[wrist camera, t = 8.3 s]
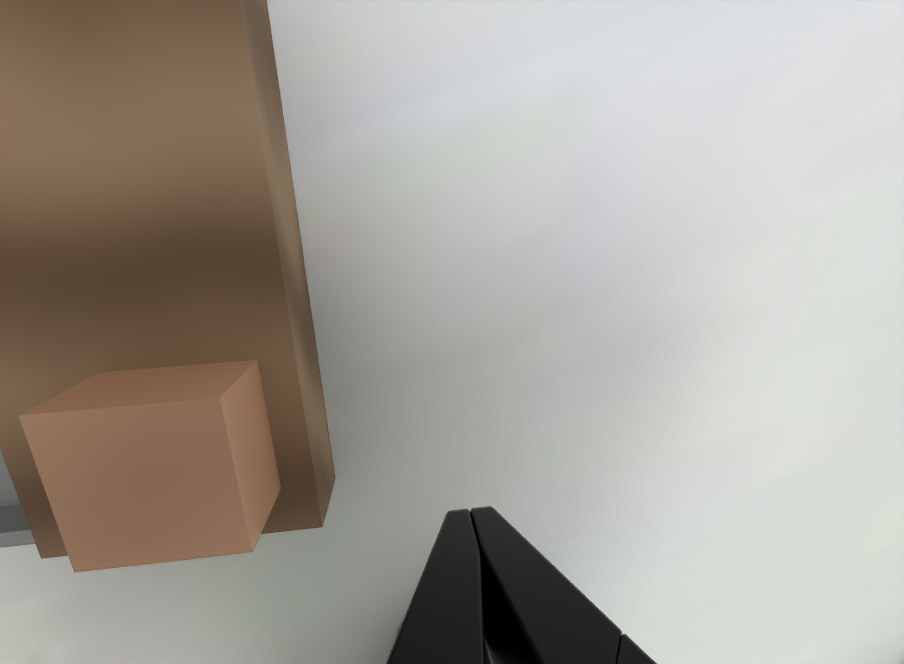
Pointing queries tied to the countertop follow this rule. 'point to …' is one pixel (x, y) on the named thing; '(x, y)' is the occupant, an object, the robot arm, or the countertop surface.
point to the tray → (11, 513)
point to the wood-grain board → (151, 222)
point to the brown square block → (157, 463)
